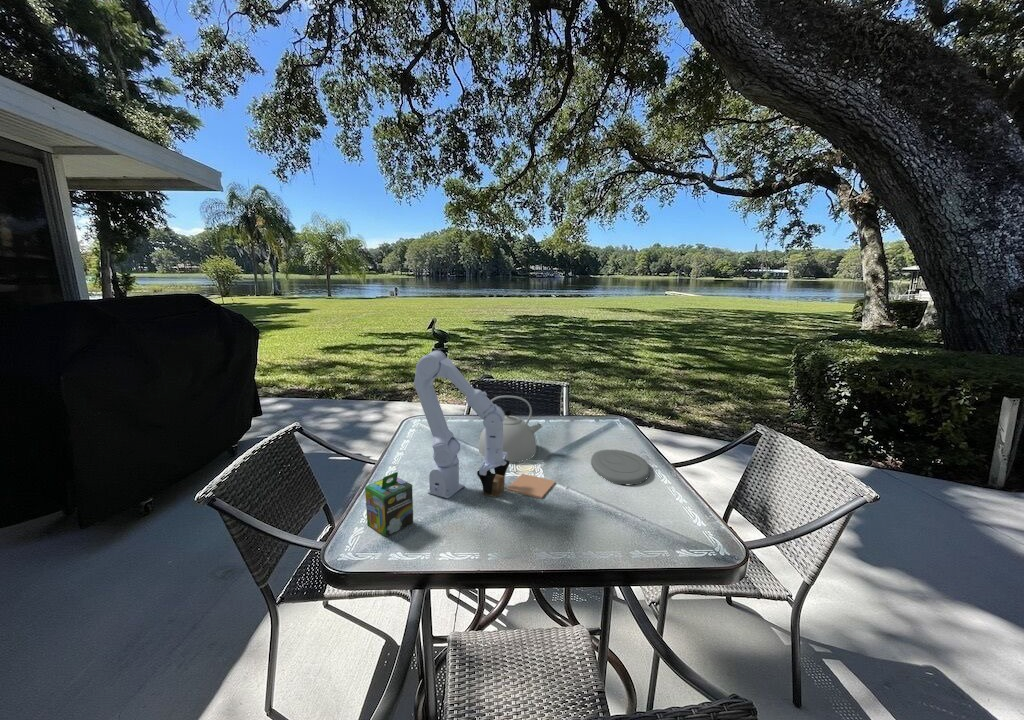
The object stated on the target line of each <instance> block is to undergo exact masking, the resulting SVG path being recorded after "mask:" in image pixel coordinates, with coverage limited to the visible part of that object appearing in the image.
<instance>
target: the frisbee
mask: <svg viewBox="0 0 1024 720" xmlns="http://www.w3.org/2000/svg"><path fill="white" fill-rule="evenodd" d="M590 463H591V464H590V465H591V467H592V469H593V468H594V469H593V470H594V471H595V472H597V475H598V476H600V477H601V476H602V477H603V478H602V477H601V478H602V479H604V478H605V479H606V480H605V479H604V480H605V481H607V480H608V481H607V482H609V481H610V482H609V483H612V482H613V483H612V484H615V483H617V484H616V485H619V484H636V483H639V484H641V483H640V482H642V481H644V480H645V479H646V478H647V477H648V476H650V471H651V469H650V465H649V463H648V462H647V461H646V459H644V458H643V457H641V456H640V455H638V454H635V453H633V452H630V451H626V450H620V449H603V450H602V449H601V450H599V451H598V450H597V451H595V452H594V453H593V454H592V456H591V459H590ZM648 478H649V477H648ZM645 481H646V480H645ZM645 481H644V482H645ZM642 483H643V482H642ZM636 485H637V484H636Z"/></svg>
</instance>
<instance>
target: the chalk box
mask: <svg viewBox="0 0 1024 720" xmlns="http://www.w3.org/2000/svg"><path fill="white" fill-rule="evenodd" d="M398 474H399V473H398V471H396V472H393V473H391V474H388V475H386V476H384V477H383V478H382V479H380V480H377V481H374V482H372V483H371V484H369V485H366V486H365V488H364V491H365V494H364V495H365V508H366V524H367V525H366V526H369V527H370V528H371V529H373V530H374V531H375V532H378V534H380V535H382V536H384V537H385V538H387V537H389V536H392V535H393V534H395V533H397V532H399V531H401V530H403V529H405V528H407V527H409V526H412V525H413V524H414V505H413V504H414V500H413V496H414V495H413V484H412V483H410V482H409V481H406V480H403V479H402V478H400V477H398Z"/></svg>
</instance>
